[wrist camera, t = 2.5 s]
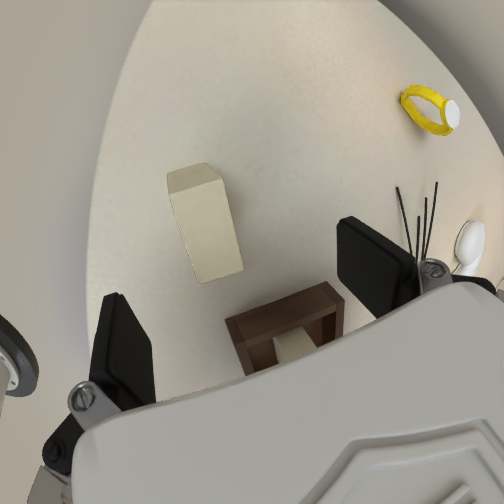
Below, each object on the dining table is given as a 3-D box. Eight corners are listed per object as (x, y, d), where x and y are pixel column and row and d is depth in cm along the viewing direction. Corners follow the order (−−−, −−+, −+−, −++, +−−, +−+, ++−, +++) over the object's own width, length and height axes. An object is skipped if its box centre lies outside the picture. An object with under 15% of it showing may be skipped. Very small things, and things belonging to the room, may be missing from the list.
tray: (268, 431, 43) (275, 447, 40) (224, 319, 26) (233, 344, 23) (323, 408, 45) (332, 422, 42) (326, 280, 28) (345, 300, 25)
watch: (425, 118, 23) (467, 127, 18) (416, 135, 24) (459, 147, 19) (399, 79, 20) (445, 81, 15) (388, 96, 21) (436, 101, 16)
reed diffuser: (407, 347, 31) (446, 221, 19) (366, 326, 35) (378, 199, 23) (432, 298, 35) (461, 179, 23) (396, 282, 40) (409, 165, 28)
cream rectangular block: (188, 244, 22) (199, 285, 17) (166, 173, 19) (168, 194, 14) (223, 233, 22) (245, 270, 17) (205, 161, 19) (222, 178, 14)
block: (276, 359, 31) (297, 397, 26) (269, 326, 28) (293, 368, 23) (299, 350, 32) (321, 386, 27) (295, 316, 29) (322, 355, 24)
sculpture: (481, 234, 38) (510, 253, 32) (444, 299, 42) (471, 322, 36) (467, 207, 33) (505, 227, 26) (424, 286, 37) (458, 314, 30)
